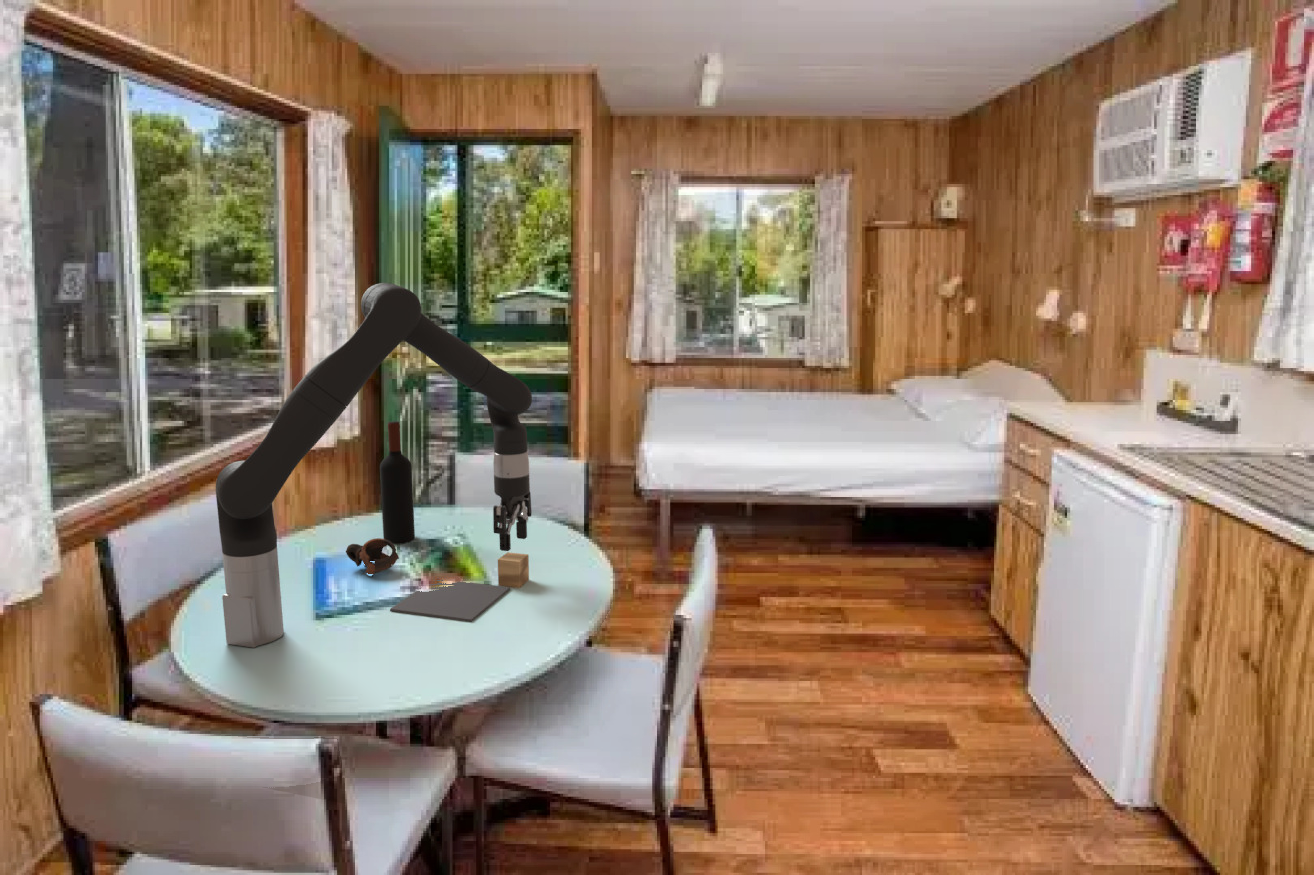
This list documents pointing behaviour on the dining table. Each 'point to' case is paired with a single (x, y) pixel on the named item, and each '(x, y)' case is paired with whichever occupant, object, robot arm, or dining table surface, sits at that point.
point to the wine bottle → (396, 491)
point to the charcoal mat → (452, 601)
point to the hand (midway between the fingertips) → (513, 544)
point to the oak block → (513, 570)
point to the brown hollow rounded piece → (373, 555)
